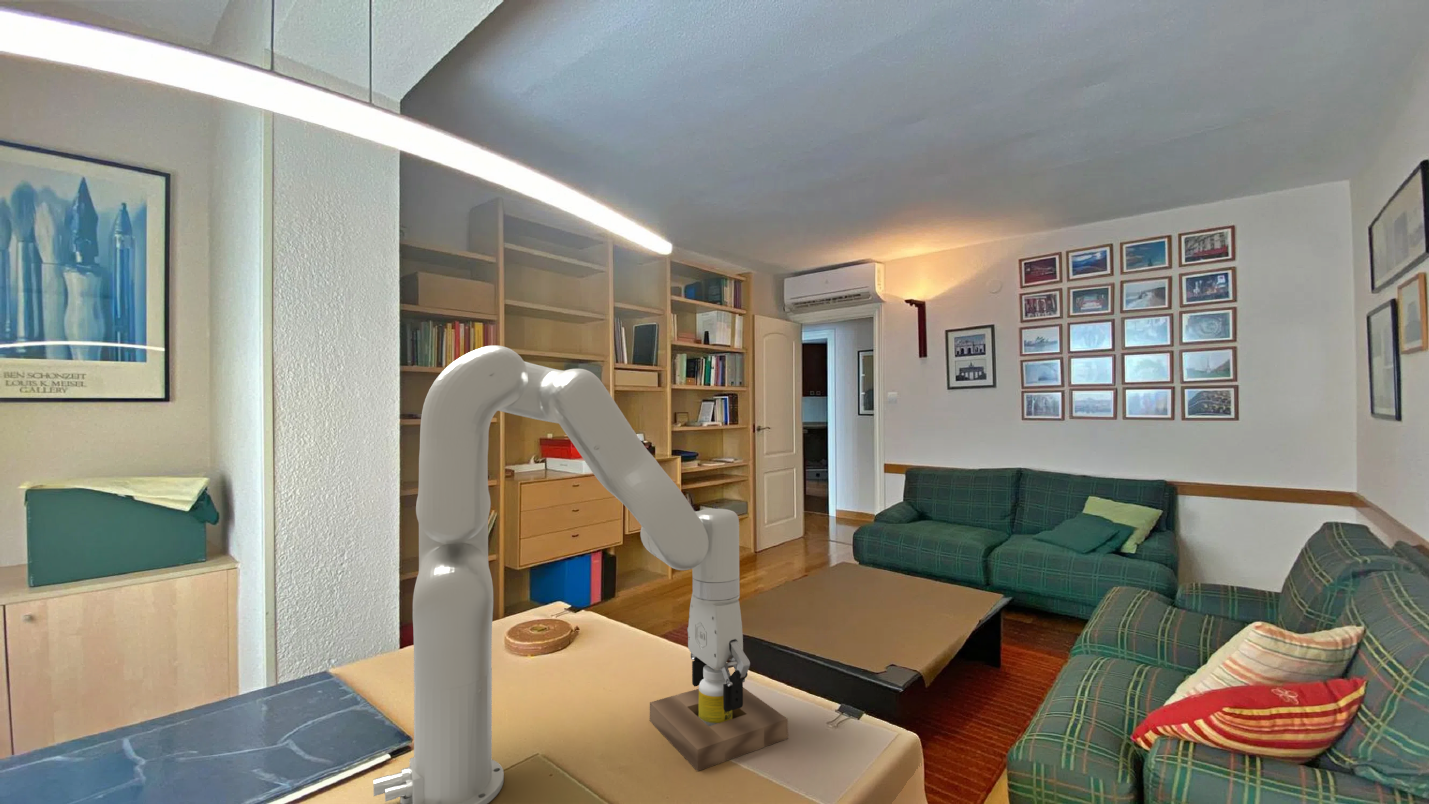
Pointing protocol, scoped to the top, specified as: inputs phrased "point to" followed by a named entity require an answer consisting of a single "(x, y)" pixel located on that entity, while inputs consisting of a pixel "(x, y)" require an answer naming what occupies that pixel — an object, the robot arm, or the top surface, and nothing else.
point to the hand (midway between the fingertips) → (716, 695)
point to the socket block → (717, 728)
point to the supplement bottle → (712, 697)
